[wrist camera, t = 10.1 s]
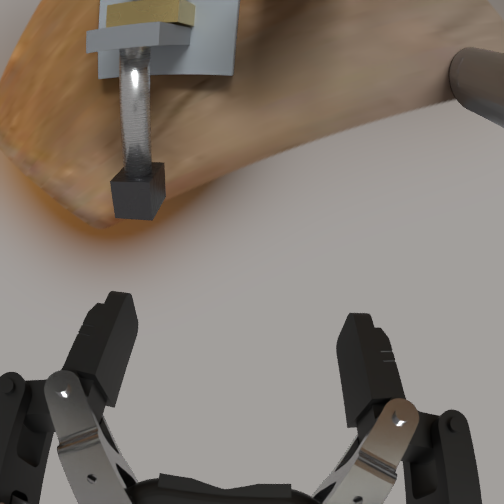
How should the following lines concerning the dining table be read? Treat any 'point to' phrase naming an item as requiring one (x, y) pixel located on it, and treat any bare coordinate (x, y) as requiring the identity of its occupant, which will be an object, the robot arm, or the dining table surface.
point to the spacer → (151, 12)
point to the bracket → (172, 41)
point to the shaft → (136, 141)
